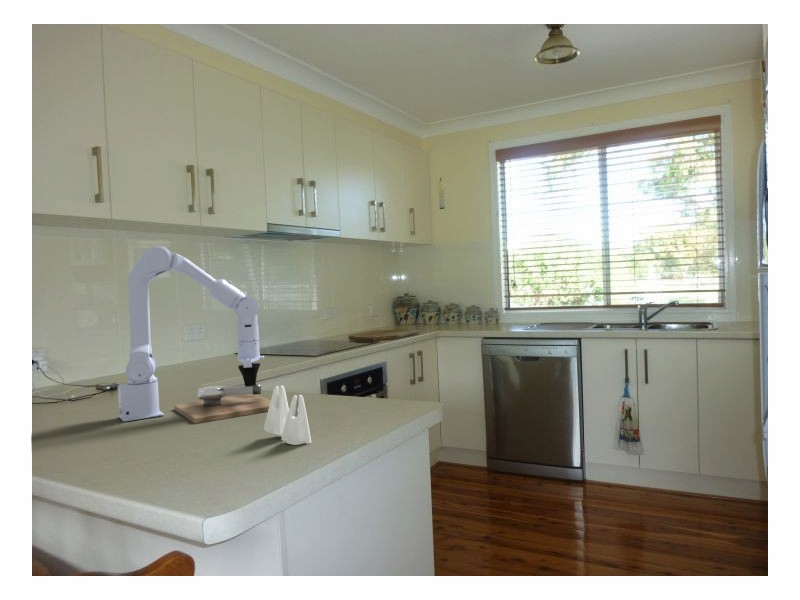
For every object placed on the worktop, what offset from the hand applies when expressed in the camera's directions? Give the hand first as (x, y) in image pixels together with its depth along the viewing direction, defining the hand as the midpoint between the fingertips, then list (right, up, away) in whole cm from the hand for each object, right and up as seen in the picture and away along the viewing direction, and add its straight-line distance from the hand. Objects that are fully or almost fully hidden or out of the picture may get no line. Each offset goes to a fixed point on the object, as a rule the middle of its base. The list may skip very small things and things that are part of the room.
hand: (250, 390), depth 154 cm
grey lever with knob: (-5, -1, -3) cm, 6 cm away
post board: (-5, -4, -4) cm, 8 cm away
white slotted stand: (+18, -4, -39) cm, 43 cm away
